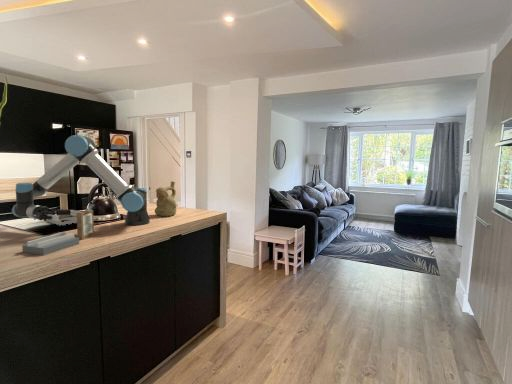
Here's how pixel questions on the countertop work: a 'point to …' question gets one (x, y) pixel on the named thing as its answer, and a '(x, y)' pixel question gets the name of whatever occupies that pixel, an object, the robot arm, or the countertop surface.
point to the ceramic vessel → (166, 201)
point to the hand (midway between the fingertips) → (69, 215)
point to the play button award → (66, 221)
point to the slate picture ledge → (50, 244)
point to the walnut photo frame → (85, 224)
